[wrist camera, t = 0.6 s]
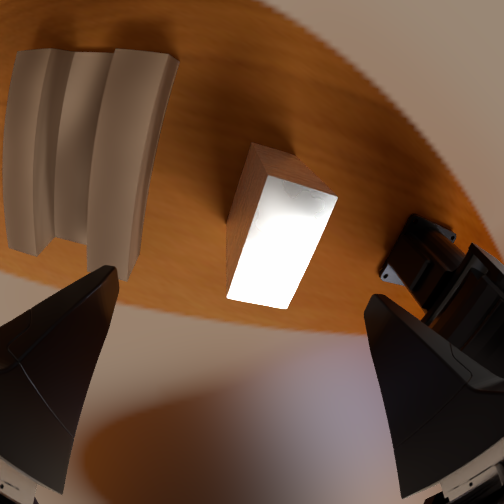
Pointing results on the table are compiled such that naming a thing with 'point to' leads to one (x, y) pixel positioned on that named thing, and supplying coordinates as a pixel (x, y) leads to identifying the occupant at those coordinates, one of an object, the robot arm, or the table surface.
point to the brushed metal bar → (273, 226)
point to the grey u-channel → (83, 149)
